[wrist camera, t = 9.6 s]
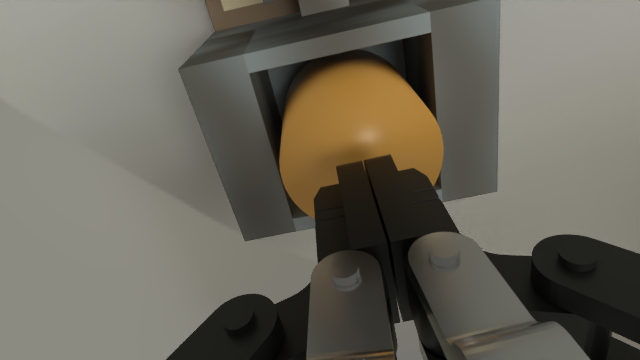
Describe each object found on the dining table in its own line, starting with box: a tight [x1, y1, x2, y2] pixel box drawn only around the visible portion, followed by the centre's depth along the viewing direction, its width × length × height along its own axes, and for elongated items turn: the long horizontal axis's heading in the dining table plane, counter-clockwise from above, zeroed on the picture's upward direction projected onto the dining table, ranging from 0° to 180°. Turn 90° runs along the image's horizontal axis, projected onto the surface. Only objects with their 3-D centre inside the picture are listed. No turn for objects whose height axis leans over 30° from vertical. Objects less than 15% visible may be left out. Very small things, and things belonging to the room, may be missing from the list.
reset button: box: [279, 49, 444, 219], centre depth 14 cm, size 5×5×4 cm
